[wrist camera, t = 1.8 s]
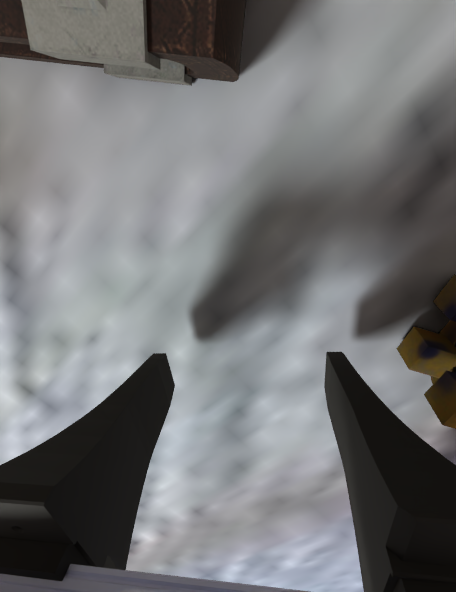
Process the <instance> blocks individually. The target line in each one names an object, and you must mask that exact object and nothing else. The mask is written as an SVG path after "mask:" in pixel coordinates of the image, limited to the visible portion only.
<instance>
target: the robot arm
mask: <svg viewBox="0 0 456 592" xmlns="http://www.w3.org/2000/svg"><path fill="white" fill-rule="evenodd" d="M174 387H175V384H174V381H173V377H172V374H171V370H170V366H169V363H168V359H167V356H166V353H162V354H153V355H152V356H150V357H149V358H148V359H147V360H146V361H145V362H144V363H143V364H142V365H141V366H140V367H139V368H138V369H137V370H136V371H135V372H134V373H133V374H132V375H131V376H130V377H129V378H128V379H127V380H126V381H125V382H124V383H123V384H122V385H121V386H120V387H119V388H117V389H116V390H115V391H114V392H113V393H112V394H111V395H110V396H108V397H107V398H106V399H105V400H104V401H103V402H101V403H100V404H99V405H98V406H97V407H95V408H94V409H93V410H91V411H90V412H89V413H87V414H86V415H85V416H83V417H82V418H81V419H79V420H78V421H76V422H75V423H73V424H72V425H70V426H69V427H67V428H66V429H64V430H63V431H61V432H60V433H58V434H57V435H55V436H54V437H52V438H50V439H49V440H47V441H45V442H44V443H42V444H40V445H38V446H37V447H35V448H33V449H31V450H29V451H28V452H26V453H24V454H22V455H20V456H18V457H16V458H14V459H12V460H10V461H8V462H6V463H4V464H2V465H0V592H309V591H300V590H292V589H283V588H274V587H266V586H257V585H248V584H240V583H231V582H223V581H214V580H205V579H197V578H188V577H179V576H171V575H162V574H153V573H145V572H136V571H127V570H125V569H126V564H127V559H128V554H129V548H130V543H131V538H132V533H133V529H134V524H135V519H136V515H137V510H138V506H139V502H140V498H141V494H142V489H143V485H144V482H145V478H146V474H147V470H148V467H149V463H150V460H151V457H152V454H153V451H154V448H155V445H156V443H157V440H158V437H159V435H160V432H161V429H162V427H163V424H164V421H165V419H166V416H167V413H168V410H169V407H170V404H171V400H172V396H173V391H174ZM325 393H326V400H327V406H328V411H329V415H330V419H331V422H332V426H333V430H334V433H335V437H336V440H337V444H338V448H339V451H340V455H341V459H342V463H343V467H344V471H345V476H346V482H347V488H348V493H349V499H350V505H351V511H352V517H353V523H354V529H355V535H356V541H357V548H358V554H359V561H360V568H361V574H362V581H363V588H364V592H456V465H455V464H453V463H452V462H451V461H449V460H448V459H446V458H445V457H444V456H442V455H441V454H440V453H439V452H437V451H436V450H435V449H434V448H432V447H431V446H430V445H429V444H427V443H426V442H425V441H424V440H422V439H421V438H420V437H419V436H418V435H416V434H415V433H414V432H413V431H412V430H411V429H410V428H408V427H407V426H406V425H405V424H404V423H403V422H402V421H401V420H400V419H399V418H398V417H397V416H396V415H395V414H394V413H393V412H392V411H391V410H390V409H389V408H388V407H387V406H386V405H385V404H384V403H383V402H382V401H381V400H380V399H379V398H378V397H377V395H376V394H375V393H374V392H373V391H372V390H371V389H370V387H369V386H368V385H367V384H366V383H365V381H364V380H363V379H362V378H361V377H360V375H359V374H358V373H357V371H356V370H355V369H354V367H353V366H352V365H351V363H350V362H349V361H348V359H347V358H346V356H345V355H344V354H343V353H342V352H327V355H326V371H325Z"/></svg>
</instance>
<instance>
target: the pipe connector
mask: <svg viewBox="0 0 456 592" xmlns="http://www.w3.org/2000/svg"><path fill="white" fill-rule="evenodd" d="M433 302H434V303H435V304H436V305H437V306H438V308H439V309H440V310H441V311H442V312H443V313H444V314H445V315H446V316H447V317H448V318H449V319H450V321H449V322H448V323H447V324H446V326H445V327H444V328H443V329H442V330H441V332H440V333H439V334H437V333H434V332H431V331H427V330H424V329H421V328H418V327H413V328H412V330H411V331H410V332H409V333H408V335H407V336H406V337H405V339H404V340H403V341H402V343H401V344H400V345H399V346H398V348H397V350H398V352H399V353H400V355H401V357H402V358H403V360H404V362H405V363H406V365H407V367H408V368H409V369H410V370H413V371H416V372H420V373H423V374H427V375H430V376H431V380H432V383H433V385H432V386H431V387H430V388H429V390H428V391H427V392H426V393H425V394H424V395H425V397H426V399H427V400H428V402H429V404H430V405H431V407H432V409H433V410H434V412H435V414H436V415H437V417H438V419H439V420H440V422H441V424H442V425H444V426H448V427H451V428H455V429H456V275H455V274H454V275H453V277H452V278H451V279H450V280H449V282H448V283H447V284H446V286H445V287H444V288H443V289H442V291H441V292H440V293H439V295H438V296H437V297H436V299H435V300H434V301H433Z"/></svg>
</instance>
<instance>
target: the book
mask: <svg viewBox="0 0 456 592" xmlns="http://www.w3.org/2000/svg"><path fill="white" fill-rule="evenodd" d="M245 5H246V0H0V57H7V58H16V59H26V60H35V61H44V62H54V63H63V64H72V65H81V66H91V67H100V68H104V73H106V74H109V75H112V76H116V77H119V78H128V79H137V80H146V81H155V82H164V83H173V84H182V85H191V86H192V78H202V79H211V80H220V81H229V82H234V81H237V80H238V79H239V68H240V58H241V47H242V36H243V26H244V15H245Z"/></svg>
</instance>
